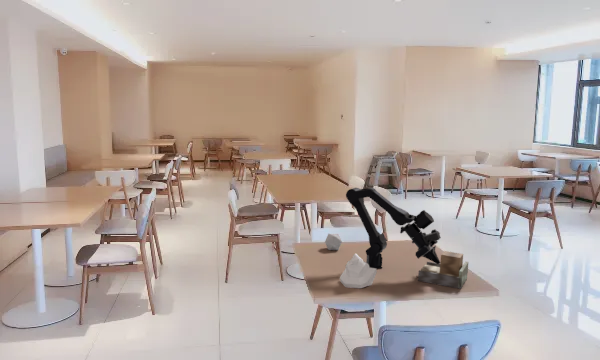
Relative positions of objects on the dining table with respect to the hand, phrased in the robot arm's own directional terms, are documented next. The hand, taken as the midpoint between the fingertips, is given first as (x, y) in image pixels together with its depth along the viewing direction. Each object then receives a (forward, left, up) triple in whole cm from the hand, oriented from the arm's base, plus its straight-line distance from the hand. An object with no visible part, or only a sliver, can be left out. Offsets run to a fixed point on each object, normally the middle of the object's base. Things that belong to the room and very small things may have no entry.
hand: (439, 263), depth 214 cm
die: (-36, +48, -7) cm, 61 cm away
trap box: (+2, -1, -7) cm, 7 cm away
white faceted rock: (-39, -4, -7) cm, 39 cm away
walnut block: (+4, -3, -3) cm, 6 cm away
